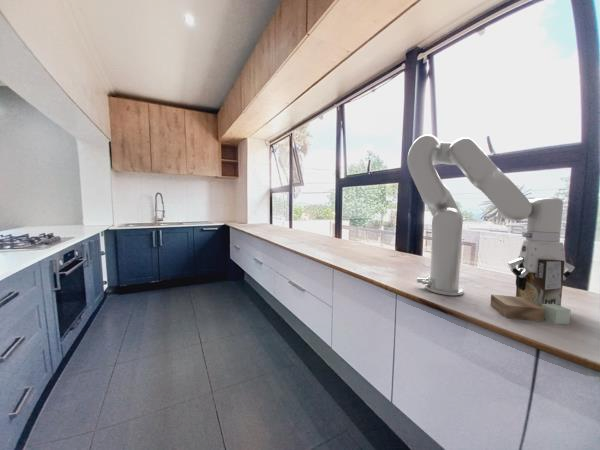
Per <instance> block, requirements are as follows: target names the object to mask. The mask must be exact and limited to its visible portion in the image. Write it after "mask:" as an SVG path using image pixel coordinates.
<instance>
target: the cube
mask: <svg viewBox="0 0 600 450" xmlns="http://www.w3.org/2000/svg"><path fill="white" fill-rule="evenodd" d="M542 308H544V309H545V313H544V320H546V321H548V322H550V323H553V324H556V325H558V324H562V325H563V324H570V321H571V320H570V319H571V313H572V312H571V311H572V310H571V309H570V308H568V307H565V306H564V307H563V306H562V305H561V306H559V305H556V304H542Z"/></svg>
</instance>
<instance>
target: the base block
mask: <svg viewBox="0 0 600 450" xmlns="http://www.w3.org/2000/svg"><path fill="white" fill-rule="evenodd" d="M490 306H491V307H492V308H493V309H494V310H495V311H496V312H498V313H499V314H501V316H503V317H505V318H506V319H507V318H508V319H517V320H525V321H535V322H543V323H544V322H545V319H544V313H545V309H544V308H542V307H540V306H539V305H537V304H535V303H533V302H532V301H530V300H528V299H526V298H525V297H516V296H512V295H502V294H492V293H491V294H490Z"/></svg>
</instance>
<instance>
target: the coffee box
mask: <svg viewBox="0 0 600 450" xmlns="http://www.w3.org/2000/svg"><path fill="white" fill-rule="evenodd" d="M517 259H519V257H517ZM523 265H524V264H522V266H523ZM518 269H519V264H518V265H517V270H518ZM563 273H564V261H561V260H540V259H539V260H538V269H537V273H530V272H529V273H528V274H527V275H526V276H524V278H526V286H525V290H521V289H519V288H517V287H516V286H515V287H516V290H515V291H516V292H515V297H525V298H526V299H528V300H530V301H532V302H533V303H535V304H537V305H539V306H540V307H542V304H556V305H559V306H562V296H563V295H562V293H563V288H562V285H563V284H564V280H563Z"/></svg>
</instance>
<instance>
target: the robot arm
mask: <svg viewBox="0 0 600 450" xmlns="http://www.w3.org/2000/svg"><path fill="white" fill-rule="evenodd" d="M406 159H407V160H406V161H407V168H408V171H409V174H410V176H411V178H412V180H413V183H414V185H415V186H416V188H417V191H418V193H419V195H420V197H421V200H422V202H423V203H424V204H425V205H426V206H427V207H428V210H429V211H430V213H431V216H432V220H431V254H430V273H429V275H427V277H424V278H423V277H416V283H418V284H422V285H424V288H425V289H426V290H427V291H429V292H432V293H435V294H439V295H444V296H454V297H455V296H457V297H458V296H462V295H463V294H464V290H463V288H461V287H460V286H459V285H460V267H461V254H462V251H461V250H462V233H463V224H464V216H463V213H462V212H461V211H460V209H459V207H458V205H457V203H456V201H455V199H454V197H453V195H452V193H451V192H450V189H449V188H448V187H447V186H446V185H445V184H444V183H443V181H442V179H441V177H440V176H439V174H438V171H437V169H436V168H435V164H443V165H451V166H453V165H454V166H457V168H458V169H459V170H460V171H461V172H462V173H463V175H464V176H465V177H466V178H467V179H468V180H469V182H470V183H471V184H472V185H473V186H474V187H475V188H477V189H478V190H480V191H481V192H482V193H483V194H484V195H485V196H486V198H488V200H490V201H491V203H492V204H493V205H494V206H495V208H496V209H497V214H498V215H499V216H500V217H501V218H502V219H504V220H508V221H512V222H518V221H520V222H521V221H522V220H527V222H526V223H527V226H526V231H525V232H522V235H521V236H522V238H525V240H523V243H522V245H521V246H520V247H521V248H520V253H519V255H518V258H519V259H518V258H516V259H513V260H511V261H509V262H507V266H508V267H509V269H510V271H511V272H512V273H513V275H514V276H515V287H517V288H519V289H521V290H525V286H526V278H524V276H526V275H527V274H528V273H529V272H530V273H537V269H538V260H539V259H540V260H561V261H564V273H563V281H566V279H567V278H568V277H570V276H571V273H572V272H573V271H574V270H575V268H576V267H575V266H574V265H572V264H570V263H569V262H567V261H566V251H565V245H564V242H560V241H561V232H562V219H563V218H562V217H563V209H564V201H563V200H562V199H561V198H559V197H558V198H557V197H536V198H533V199H529V198H527V196H526V195H525V194H524V193H523V192H522V190H521V189H520V188H519V187H517V185H516V184H515V183H514V182H513V181H512V180H511V179H510V178H509V177H508V176H507V175H506V174H504V172H503V171H502V169H500V168H499V167H498V166H497V165H496V164H495V163H494V162H493V161H492V160H491V158H490V157H489V156H488V155H487V154H486V153H485V151H484V150H483V149H482V147H480V146H479V145H478V144H477V142H476V141H475V140H473V139H471V138H470V137H460V138H457V139H456V140H454V141H453V142H445V141H439V139H438V138H437V136H435V135H432V134H423V135H421V136H419V137H418V138H416V139H415V140H414V141H413V143H412V144H411V146H410V147H409V150H408V153H407V158H406ZM518 264H519V269H518V268H517V266H518ZM522 264H524V265H523V266H522ZM562 289H564V288H563V285H562Z"/></svg>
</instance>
